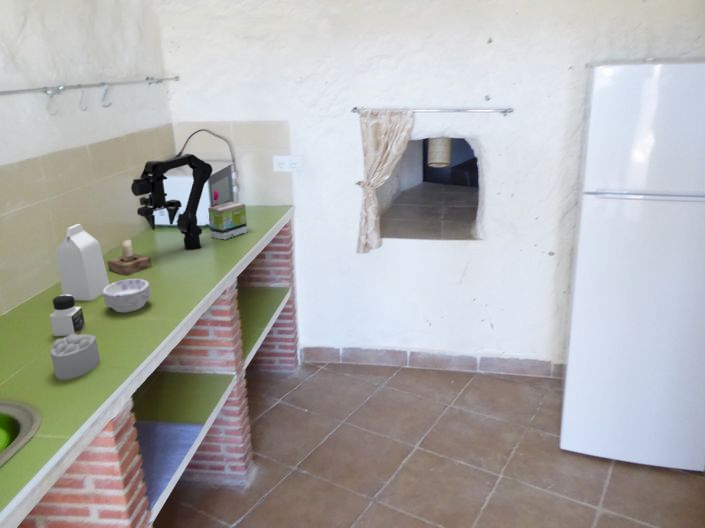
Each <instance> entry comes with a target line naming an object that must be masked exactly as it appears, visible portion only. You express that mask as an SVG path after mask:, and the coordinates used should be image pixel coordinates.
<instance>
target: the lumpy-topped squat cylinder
mask: <svg viewBox="0 0 705 528" xmlns="http://www.w3.org/2000/svg"><path fill="white" fill-rule="evenodd" d="M52 345H53V346H51V348H50V358H51V361H52V364H53V365H52V367H53V370H54V375H55V378H57V379H59V380H60V381H61V380H63V381H64V380H65V381H66V380H72V379H75V378H78V377H81V376H83V375H85V374H88V373H89V372H91V371H92V370H93V369H94V368H95V367H96V366H97V365H98V364H99V363H100V361H101V358H100V351H99V348H98V342H97V338H96V336H95V335H94V334H86V333H82V334H79V333H78V334H71V335H69V336H63V337H62V338H57V339H56V340H55V341H54V342H53V344H52Z"/></svg>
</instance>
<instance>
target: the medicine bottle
mask: <svg viewBox="0 0 705 528" xmlns="http://www.w3.org/2000/svg"><path fill="white" fill-rule="evenodd" d="M52 304H53V309H54V311H53V312H52V313H51V314H50V315H49V320H50V325H51V328H52V333H53V336H54V337H67V336H69V335H71V334H79V333H80V332H81V331H82V330H83V329H84V328H85V327H86V323H85V318H84V313H83V308H82V306H76V302H75V300H74V297H73V296H72V295H68V294H65V295H62V294H60V295H58V296H56V297H54V298H53V299H52Z"/></svg>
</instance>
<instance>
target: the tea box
mask: <svg viewBox="0 0 705 528" xmlns="http://www.w3.org/2000/svg"><path fill="white" fill-rule="evenodd" d="M246 210H247V209H246V204H245V203H241V202H235V201H229V202H225V203H222V204H218V206H214V207H210V206H209V207H208V208H207V211H208V213H209V220H208V222H209V223H210V224H209V223H208V224H209V233H210V238H212V237H214V238H213V239H216V238H218V239H217V240H220V239H224V240H223V241H226V240H229V239H231V238H230V237H232V238H234V237H233V236H235V237H237V236H236V235H239V234H241V233H244V232H247V233H248V227H247V226H248V224H247V214H246V213H247V211H246ZM239 236H240V235H239ZM228 238H229V239H228ZM225 239H226V240H225Z"/></svg>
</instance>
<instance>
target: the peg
mask: <svg viewBox="0 0 705 528" xmlns="http://www.w3.org/2000/svg"><path fill="white" fill-rule="evenodd" d="M120 247H121V252H122V256H123V259H124V262H126V263H128V262H131V261H134V256H133V253H134V252H133V245H132V240H131V239H122V240H120Z"/></svg>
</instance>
